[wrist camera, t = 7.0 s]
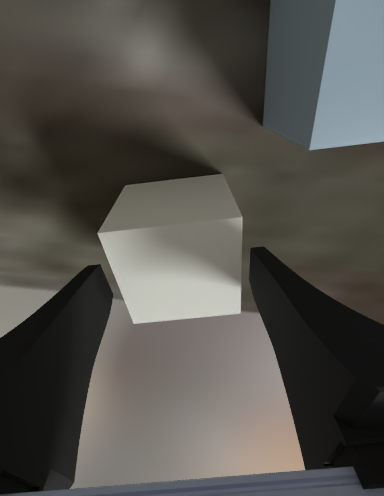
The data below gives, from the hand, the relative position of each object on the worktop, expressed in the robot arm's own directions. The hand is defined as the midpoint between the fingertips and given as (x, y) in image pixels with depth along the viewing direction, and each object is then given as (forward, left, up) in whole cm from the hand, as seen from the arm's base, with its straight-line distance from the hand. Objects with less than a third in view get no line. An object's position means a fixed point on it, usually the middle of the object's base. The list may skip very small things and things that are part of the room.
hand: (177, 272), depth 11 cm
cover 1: (0, 0, -5) cm, 5 cm away
